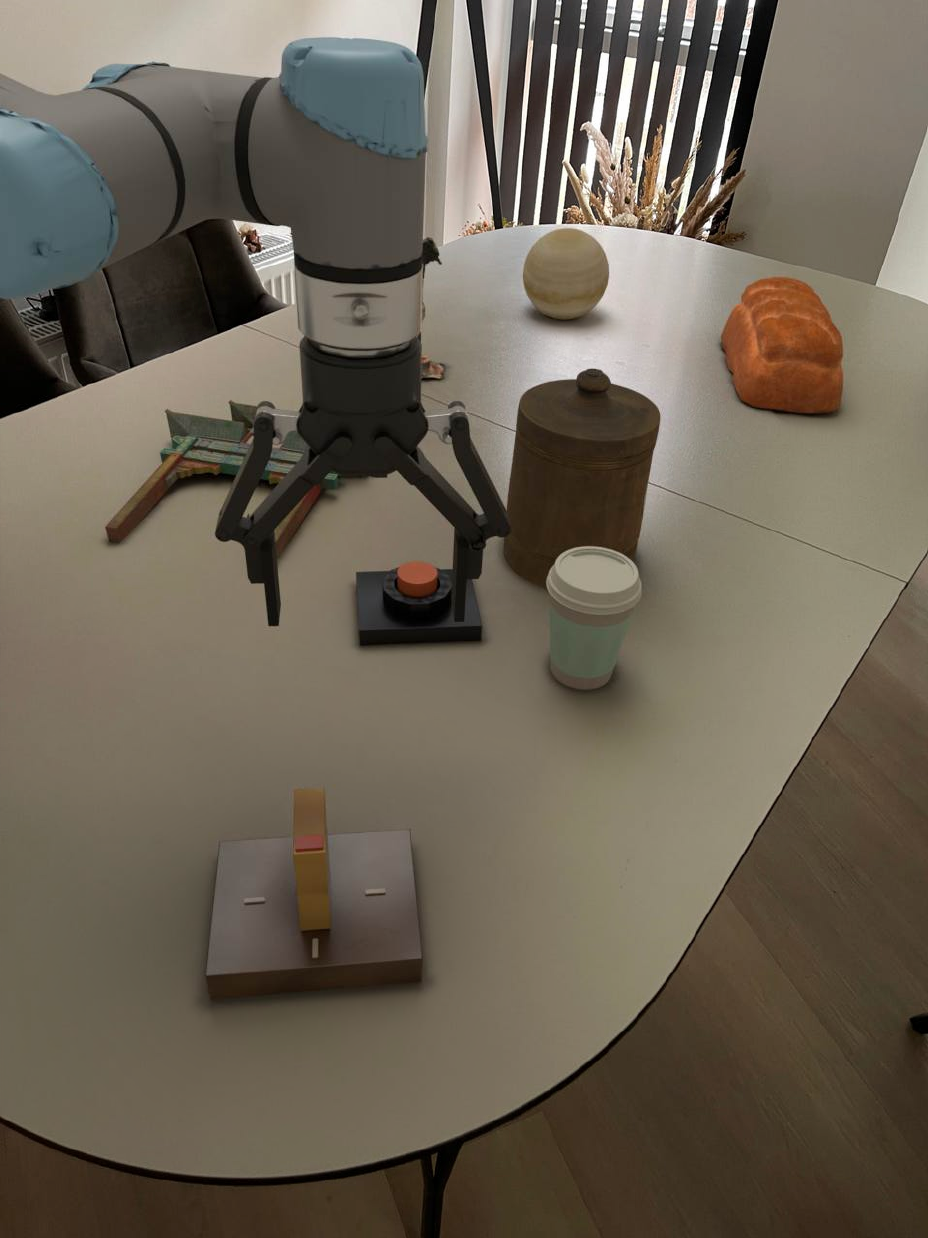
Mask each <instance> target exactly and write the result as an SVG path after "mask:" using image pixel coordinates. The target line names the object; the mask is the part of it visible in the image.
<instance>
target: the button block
mask: <svg viewBox="0 0 928 1238" xmlns="http://www.w3.org/2000/svg"><path fill="white" fill-rule="evenodd" d="M399 567H400V566H398V567H395V568H393V569H390V570H377V571H376V570H375V571H374V570H373V571H356V572H355V583H356V585H355V586H356V603H357V604H356V606H357V620H358V622H357V623H358V625H357V626H358V642H359V647H360V646H361V647H362V646H384V645H385V646H386V645H408V644H411V645H412V644H433V643H434V644H435V643H436V644H437V643H454V642H455V643H458V642H461V643H463V642H480V641H482V634H483V633H482V632H483V624H482V618H481V614H480V609H479V605H478V600H477V597H476V591H475V587H474V583H473V582H474V581H473V579H467V582H466V601H465V619H464V622H454V616H453V609H452V603H451V594H452V572H453V568H440V567H435V566H434V567H435V568H436V570H437V572H438V577H437V589H436V591H435V592H434V593H433V594H430V595H428V596H425V597H411V596H408V595H405V594H402V593H401V592H400V591H399V590H398V587H397V571H398V569H399Z"/></svg>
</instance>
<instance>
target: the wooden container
mask: <svg viewBox="0 0 928 1238" xmlns="http://www.w3.org/2000/svg"><path fill="white" fill-rule="evenodd" d="M515 424H516V425H515V427H516V428H515V435H514V442H513V450H512V451H513V452H512V461H511V466H510V467H511V468H510V474H509V475H510V476H509V483H508V490H507V501H506V512H507V515H508V519H509V523H510V528H511V532H510V534H509V535H508V536H506V537H503V550H502V552H503V557H504V560H505V561H506V563H507V565H508V566H509V567H510V568H511V570H512V571H514V572H515V573H516V574H517V575H518V576H520V577H521V578H523V579H524V580H526V581H528V582H530V583H532V584H534V585H537V586H540V587H543V588H546V589H547V585H546V581H547V577H548V575H549V571H550V569H551V568H552V566H553V565H554V564H555V561H556V559H557V558H558V557H559V556H560V555H561V554H562V553H563V552H565V551H567V550H570V549H573V548H577V547H584V546H594V547H602V548H607V549H611V550H614V551H617V552H619V553H621V554H623V555H625V556H626V557H628V558H629V559H630V560H631V561H632V562H633V563H634V564H635V559H636V554H637V550H638V544H639V539H640V534H641V531H642V525H643V520H644V513H645V508H646V501H647V500H646V499H647V495H648V488H649V481H650V475H651V469H652V463H653V458H654V453H655V452H654V451H655V448H656V445H657V441H658V437H659V433H660V432H659V431H660V425H661V412H660V409H659V407H658V406H657V405H656V404H655V403H654V402H653V400H652V399H650V398H649V397H647V396H646V395H644V394H643V393H640V392H638V391H637V390H634V389H631V388H629V387H626V386H622V385H620V384H615V383H612V381H611V379H610V377H609V376H608V374H607V373H605V372H604V371H603V370H602V369H599V368H587V369H585V370H582V371H580V372H579V373H578V374H577V376H576V378H569V379H558V380H550V381H546V382H543V383H540V384H536V385H535V386H532V387H530V388H528V389H527V390H526V391H524V393H522V395H521V396H520V399H519V402H518V408H517V415H516V423H515Z"/></svg>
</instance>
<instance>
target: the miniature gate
mask: <svg viewBox="0 0 928 1238" xmlns="http://www.w3.org/2000/svg"><path fill="white" fill-rule="evenodd" d="M228 404H229V408H230V415H231V420H230V419H222V418H217V417H209V416H202V415H196V414H190V413H183V412H176V411H172V410H170V409H169V408H166V409H165V410H164V413H165V414H166V419H167V424H168V429H169V434H170V441H171V444H172V447H173V448H171V447H170V448H169V447H163V448H162V449H161V451H160V452H159V455H160V459H161V464H160V465H159V466H158V467H157V468H156V470H154V472H153V473H151V475H150V476H149V477H148V478H147V480H145V481H144V483H143V484H141V486H140V488H138V489H137V491H135V493H134V494H133V495H132V496H131V497H130V498H129V500H127V502H126V503H125V504H124V505H123V506H122V507H121V508H120V510H119V511H118V512H116V514H115V515H114V516H113V517H112V518H111V519H110V521H108V523H107V524H106V525H105V526H104V528H105V532H106V535H107V539H108V542H112V543H119V544H121V542H123V540H124V539H125V538H127V536H128V535H129V534H131V532H133V530H134V529H135V528H137V526H139V524H140V523H141V521H142V520H143V519H144V518H145V517H146V516H147V515H148V514H149V512H151V510H152V509H153V508H154V507H155V505H156V504H157V503H158V502H159V501H160V499H161V498H162V497H163V496H164V495H165V494H166V493H167V491H168V490H169V489H170V488H171V487H172V485H173V484H174V483H175V482H176V481H177V480H178V479H184V478H186V477H191V476H192V475H194V474H197V475H202V474H205V473H206V474H207V473H210V474H213V475H214V476H217V475H219V474H225V475H233V476H236V475H237V473H238V471H239V469H240V466H241V464H242V462H243V460H244V458H245V455H246V453H247V451H248V449H249V447H250V444H251V442H252V440H253V438H254V422H255V416H256V411H257V406H258V405H253V404H252V405H251V404H245V403H240V402H239V403H238V402H235V401H233V400H232V399H230V400H229V401H228ZM278 409H279V408H278ZM279 410H281V409H279ZM308 447H309V446H308V445H307V444H306V443H305V442H304V440H303V439H302V438H301V437H300V436H299V434H298V432H297V431H294V432H291V433H289V434H288V435H287V437H286V440H285V441H284V442H283V443H282V444H279V445H273V446H272V452H271V456H270V459H269V461H268V464H267V466H266V468H265V470H264V472H263V474H262V476H261V478H260V480H263V481H268V482H269V485H272V484H279V483H280V482H281V480H282V479H283V478H284V477H285V476H286V475H287V474H288V472H289V471H290V470H291V469H292V468H293V467H294V466H295V464H296V463H297V462H298V461H299V460H300V459H301V457H302V455H303V453H304V451H305V450H306V449H307V448H308ZM339 477H341V476H340V475H339V474H336V473H334V472H332V471H330V472H329V474H328V475H327V476H326V477H325V478H324V479H323V480H322V481H321V482H320V484H319V485H317V486H314V487H313V488H312V489H311V490H310V491H309V492H308V493H307V494H306V495H305V497H304V498H303V499H302V500H301V501H300V502H299V503H298V504H297V505H296V507H295V508H294V509H293V510H292V511H291V512H290V513H289V514H288V515H287V516H286V518H285V519H284V520H283V521H282V522H281V523H280V524H279V525H278V526H277V528H276V529H275V530H274V533H275V544H276V555H277V559H278V558H279V557H280V555H281V554H282V553H283V551H284V550H285V548H286V547H287V545H288V544H289V542H290V540H291V539H292V537H293V536H294V534H295V533H296V531H297V529H298V528H299V526H300V525H301V523H302V522H303V520H304V519H305V516H306V515H307V514H308V512H309V511H310V509H311V507H312V506H313V504H314V503H315V501H316V499H317V498H318V497H319V495H320V493H321V492H322V490H323V489H327V490H334V491H335V490H336V489H337V488H338V486H339ZM361 477H363V478H369V477H370V476H366V475H362V476H361Z"/></svg>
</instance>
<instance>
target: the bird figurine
mask: <svg viewBox="0 0 928 1238" xmlns="http://www.w3.org/2000/svg"><path fill="white" fill-rule="evenodd" d="M422 253H423V282H424V279H425V273H426V266H427V265H429V264H430V263H434V262H437V264H438V265H440V266H442V265H443V263H442V261H441V259H440V258H439V256H440V251H439V248H438V246H437V244H436V242H435V240H434V239H433V238H432V237H431V236H426V237H425V238H423V252H422ZM425 318H426V306H425V302H424V301H423V302H422V323H423V322H424V320H425ZM417 338H418V339H419V340H420V342H421V343H422V331H421V332H420V333H419V335H418V336H417ZM446 370H447V369H446V364H445V363H442V362H440V363H438V362H437V363H436V362H433V361H432V360H431V359H430V357H429V356H428V355H427V354H422V369H421V379H423V378H426V379H429V378H435V379H439V380H440V379H442V378H444V375H445V373H444V372H446Z"/></svg>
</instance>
